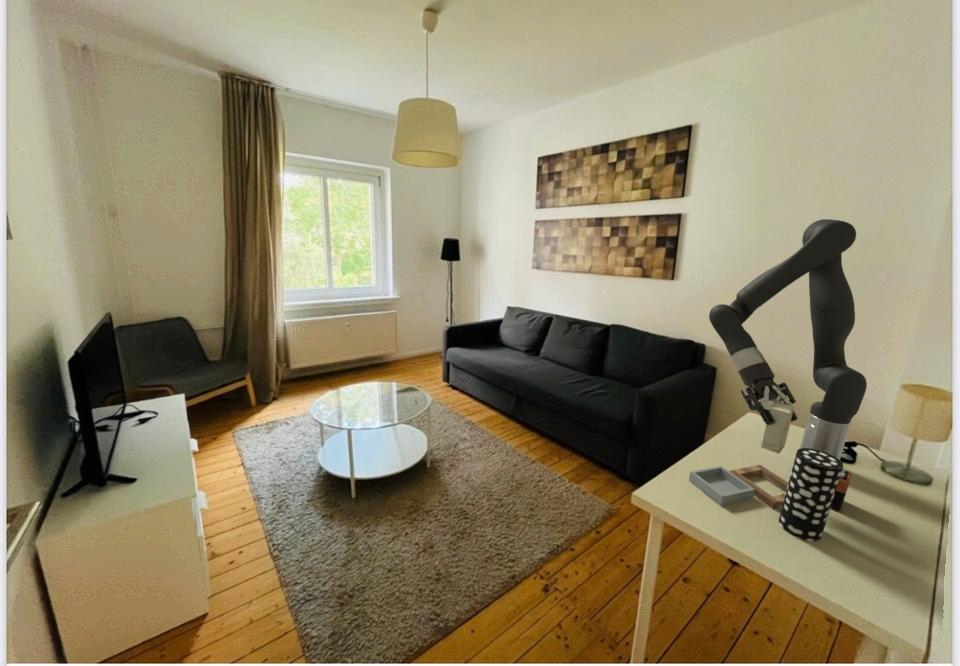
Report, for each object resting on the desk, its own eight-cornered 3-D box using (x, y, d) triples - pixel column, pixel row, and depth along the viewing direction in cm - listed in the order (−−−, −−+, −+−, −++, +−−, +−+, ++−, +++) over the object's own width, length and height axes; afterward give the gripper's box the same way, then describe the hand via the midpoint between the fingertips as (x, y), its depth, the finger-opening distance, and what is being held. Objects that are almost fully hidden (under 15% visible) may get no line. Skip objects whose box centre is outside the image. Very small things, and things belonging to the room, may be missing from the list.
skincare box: (779, 454, 103) (789, 413, 99) (759, 447, 106) (769, 407, 103) (785, 445, 107) (795, 406, 103) (765, 439, 110) (775, 400, 107)
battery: (818, 503, 104) (827, 471, 101) (822, 492, 108) (832, 461, 106) (839, 512, 101) (850, 479, 98) (843, 500, 105) (853, 469, 103)
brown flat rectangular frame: (758, 470, 118) (760, 464, 117) (806, 501, 105) (808, 494, 104) (727, 476, 115) (728, 470, 114) (772, 509, 102) (774, 502, 101)
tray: (719, 474, 116) (720, 465, 115) (752, 498, 106) (754, 489, 105) (688, 480, 113) (690, 471, 112) (720, 506, 103) (722, 496, 102)
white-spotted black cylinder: (771, 514, 100) (789, 446, 95) (807, 518, 99) (827, 449, 93) (790, 538, 92) (810, 466, 87) (829, 543, 91) (853, 470, 85)
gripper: (742, 363, 106) (773, 421, 98) (782, 358, 109) (815, 415, 102) (722, 374, 112) (750, 429, 105) (760, 369, 116) (790, 423, 108)
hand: (782, 422), depth 103 cm, fingers closed on skincare box, 7 cm apart
